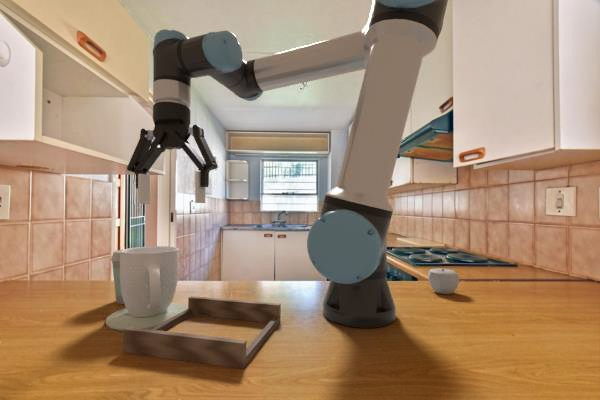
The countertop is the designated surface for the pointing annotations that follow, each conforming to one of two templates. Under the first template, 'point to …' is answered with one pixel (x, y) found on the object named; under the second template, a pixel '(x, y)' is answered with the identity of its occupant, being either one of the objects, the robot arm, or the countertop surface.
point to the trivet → (142, 318)
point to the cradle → (199, 345)
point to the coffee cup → (117, 276)
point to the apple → (443, 280)
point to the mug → (148, 279)
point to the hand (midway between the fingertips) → (171, 203)
